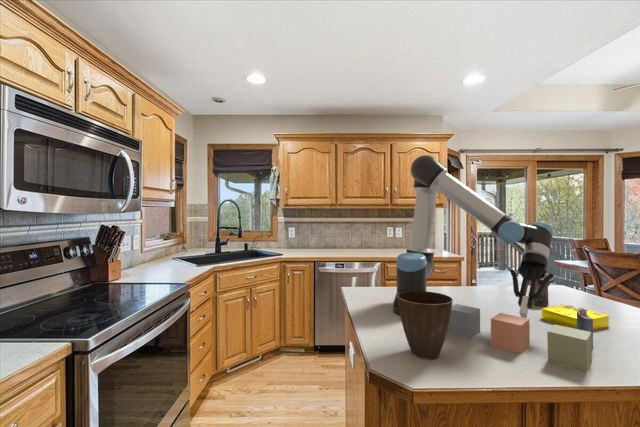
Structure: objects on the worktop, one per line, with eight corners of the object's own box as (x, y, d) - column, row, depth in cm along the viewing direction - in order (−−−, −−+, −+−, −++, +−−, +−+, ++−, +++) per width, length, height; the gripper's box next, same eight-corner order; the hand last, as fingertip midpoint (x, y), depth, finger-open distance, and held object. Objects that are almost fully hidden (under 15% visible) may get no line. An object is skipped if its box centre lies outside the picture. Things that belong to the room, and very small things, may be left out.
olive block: (587, 372, 76) (586, 340, 76) (547, 361, 82) (547, 331, 82) (591, 362, 81) (591, 332, 81) (554, 352, 87) (554, 324, 87)
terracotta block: (521, 353, 86) (521, 325, 86) (491, 344, 92) (490, 318, 92) (529, 345, 92) (529, 319, 92) (500, 337, 98) (500, 312, 98)
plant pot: (386, 351, 88) (386, 295, 88) (417, 338, 97) (417, 288, 97) (433, 371, 76) (433, 307, 76) (463, 355, 85) (463, 298, 85)
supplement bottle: (547, 303, 135) (547, 278, 135) (549, 307, 130) (548, 280, 130) (531, 301, 138) (531, 277, 138) (532, 305, 133) (531, 279, 133)
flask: (594, 350, 88) (594, 313, 89) (581, 348, 90) (581, 311, 90) (585, 339, 96) (585, 305, 97) (573, 337, 98) (573, 303, 98)
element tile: (539, 319, 116) (538, 306, 116) (564, 314, 121) (564, 302, 121) (584, 333, 102) (584, 319, 102) (611, 327, 107) (611, 314, 107)
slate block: (470, 339, 97) (470, 313, 97) (445, 332, 103) (445, 308, 103) (480, 332, 102) (480, 308, 102) (456, 326, 108) (456, 303, 108)
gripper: (559, 266, 106) (550, 326, 95) (516, 263, 116) (503, 317, 105) (555, 252, 103) (545, 313, 91) (511, 250, 113) (497, 304, 101)
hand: (522, 315), depth 98 cm, fingers closed
